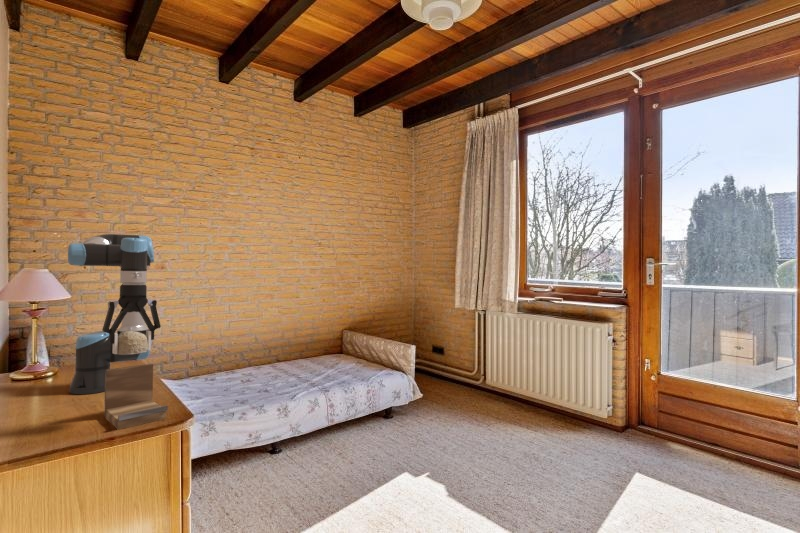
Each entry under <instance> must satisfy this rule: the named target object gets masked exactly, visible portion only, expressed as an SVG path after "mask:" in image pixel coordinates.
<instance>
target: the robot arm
mask: <svg viewBox="0 0 800 533" xmlns="http://www.w3.org/2000/svg"><path fill="white" fill-rule="evenodd" d="M67 262H68V264H69V265H71V266H79V267H86V266H87V267H90V266H91V267H119V268H120V272H119V274H120V275H119V283H120V284H121V285H120V286H119V299H118V300H116V301H111V300H110V301H108V302H107V307H108V309H107V312H106V315H105V319H104V323H103V326H102V331H95V332H90V333H86V334H82V335H80V336H78V337H77V338H76V343H75V348H74V349H75V369H74V375H73V377H72V380H71V382H70V385H69V388H68V389H69V391H68V392H69V393H70V394H72V395H89V394H90V395H91V394H97V393H101V392H102V393H103V392H105V370H107V369H111V363H119V362H120V363H121V362H130V361H135V362H136V361H141V360H147V359H148V358H149V356H150V353H151V350H152V343H153V340H155V330H157V329H160V328H161V321H160V319H159V313H158V309H157V304H158V301H157V300H155V299H148V298H147V287H148V286H147V282H148V281H147V275H148V274H147V273H148V269H149V268H150V267H151V264H152V263H155V254H154V247H153V240H152V238H151V237H150V236H146V235H137V234H114V233H104V234H98V235H94V236H90V237H88V238H87V239H85V240H84V241H83V242H82V243H81V242H77V243H76V242H75V243H74V242H73V243H70V244H69V245H68V248H67ZM147 304H148V306H149V309H150V312H151V313H150V314H151V318H152V321H153V323H152V321H151V319H150V316H148V314H147V312H146V305H147ZM118 305H119V306H120V308H121V309H120V311H119V313H118V315H117V316H116V318H115V320H114V322H113V324H112V319H113V316H114V312H115V309H116V308H117V307H118ZM111 324H112V325H111ZM120 325H121V326H120ZM127 330H130V331H135V332H140V333H142V334H144V335H146V337H147V338H148V351H147V352H143V353H139V354H130V355H119V354H117V346H118V336H119V334H120V333H121V332H123V331H127Z"/></svg>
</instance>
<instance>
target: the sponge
mask: <svg viewBox="0 0 800 533" xmlns="http://www.w3.org/2000/svg"><path fill="white" fill-rule="evenodd" d="M147 351H148V338H147V337H146V335H144V334H142V333H140V332H135V331H130V330H127V331H123V332H121V333H120V334H119V336H118V346H117V354H119V355H130V354H139V353H143V352H147Z"/></svg>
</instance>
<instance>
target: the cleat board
mask: <svg viewBox="0 0 800 533" xmlns="http://www.w3.org/2000/svg"><path fill="white" fill-rule="evenodd" d="M153 379H154V363H146V364H145V363H143V364H138V365H131V366H122V367H115V368H110V369H107V370H105V391H104V415H103V417H104V418H105V420H107V421H108V422H109V423H110V424H111V425H112V426H114V428H115V429H116V430H117V431H118V430H122V429H127V428H131V427H136V426H140V425H144V424H149V423H153V422H157V421H161V420H166V419H167V413H168V412H167V411H168V410H169V406H168V405H167V404H166V405H160V404H159V403H157V402H155V401H154V400H153V398H154V397H153V389H154V388H153V386H154V380H153Z"/></svg>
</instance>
